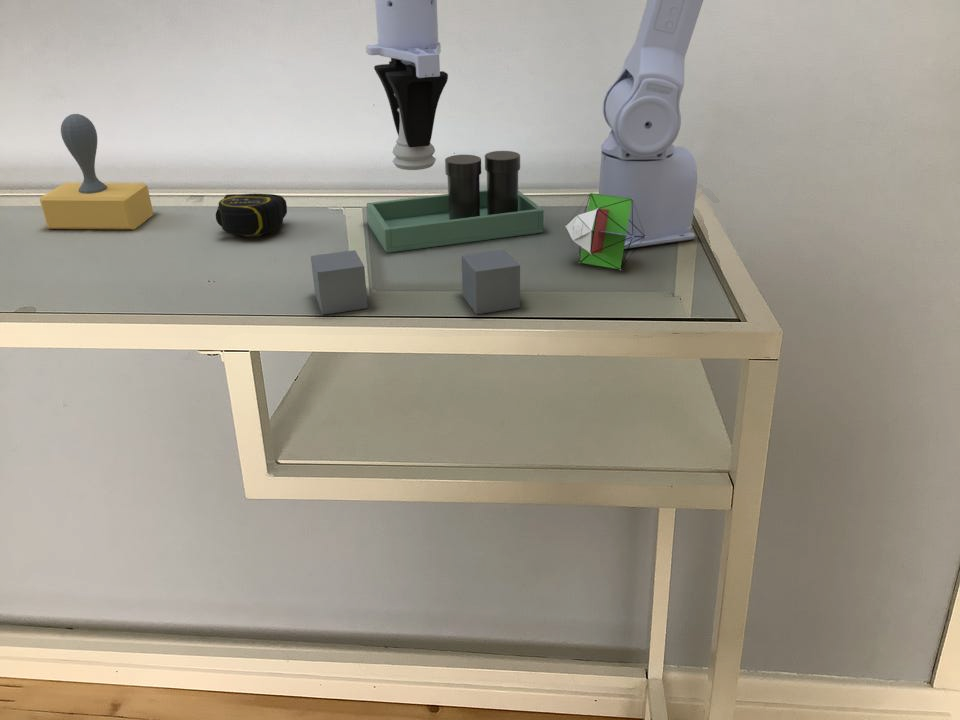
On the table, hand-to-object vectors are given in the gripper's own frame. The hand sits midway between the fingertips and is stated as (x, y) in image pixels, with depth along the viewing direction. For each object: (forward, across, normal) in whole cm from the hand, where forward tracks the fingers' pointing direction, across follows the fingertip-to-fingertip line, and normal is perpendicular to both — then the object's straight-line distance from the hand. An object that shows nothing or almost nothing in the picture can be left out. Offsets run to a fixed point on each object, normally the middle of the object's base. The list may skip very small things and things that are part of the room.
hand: (413, 141), depth 82 cm
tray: (+10, -1, +4) cm, 11 cm away
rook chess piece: (+3, 0, 0) cm, 3 cm away
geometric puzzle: (+10, +14, +15) cm, 23 cm away
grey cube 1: (+10, +14, -11) cm, 20 cm away
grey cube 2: (+10, +18, +2) cm, 21 cm away
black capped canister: (+10, -1, +10) cm, 14 cm away
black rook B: (+10, -1, +6) cm, 11 cm away
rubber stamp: (+10, -18, -33) cm, 39 cm away
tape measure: (+10, -9, -17) cm, 21 cm away
